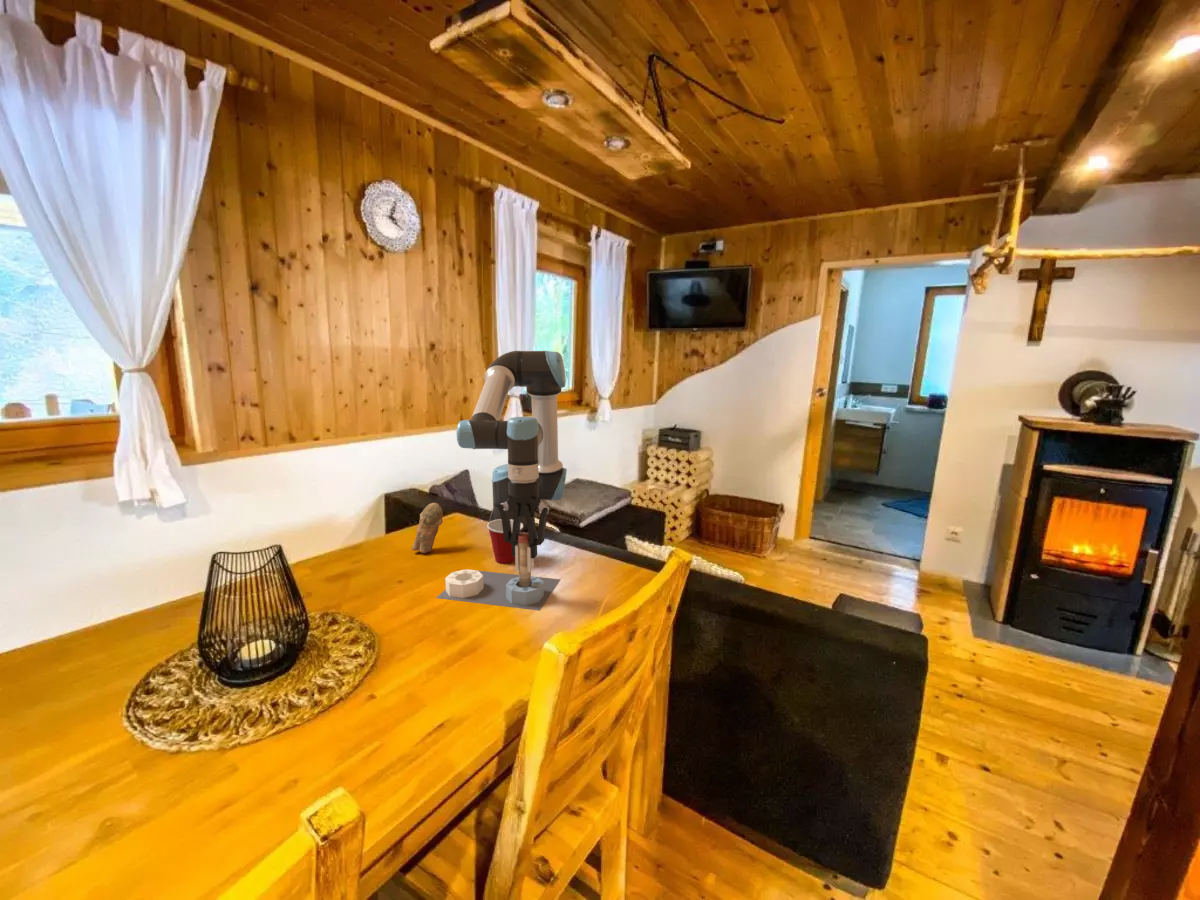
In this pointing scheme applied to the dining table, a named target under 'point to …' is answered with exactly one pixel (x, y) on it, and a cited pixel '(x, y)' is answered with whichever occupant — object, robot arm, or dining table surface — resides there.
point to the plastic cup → (501, 542)
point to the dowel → (523, 561)
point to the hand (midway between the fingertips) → (524, 568)
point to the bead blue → (525, 592)
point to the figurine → (428, 528)
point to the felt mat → (502, 591)
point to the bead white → (464, 583)
